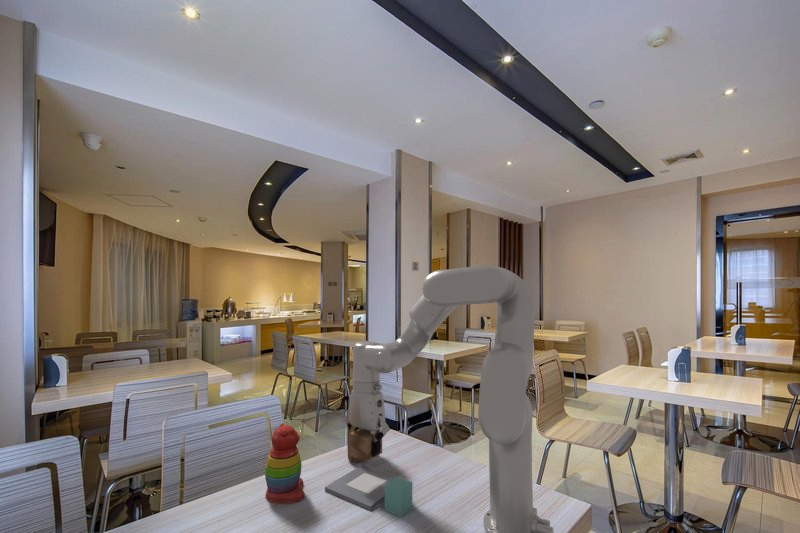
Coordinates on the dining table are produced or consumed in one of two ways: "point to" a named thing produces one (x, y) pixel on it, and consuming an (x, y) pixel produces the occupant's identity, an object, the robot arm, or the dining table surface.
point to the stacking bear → (284, 467)
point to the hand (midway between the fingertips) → (365, 450)
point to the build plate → (362, 486)
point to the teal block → (398, 495)
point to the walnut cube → (361, 444)
